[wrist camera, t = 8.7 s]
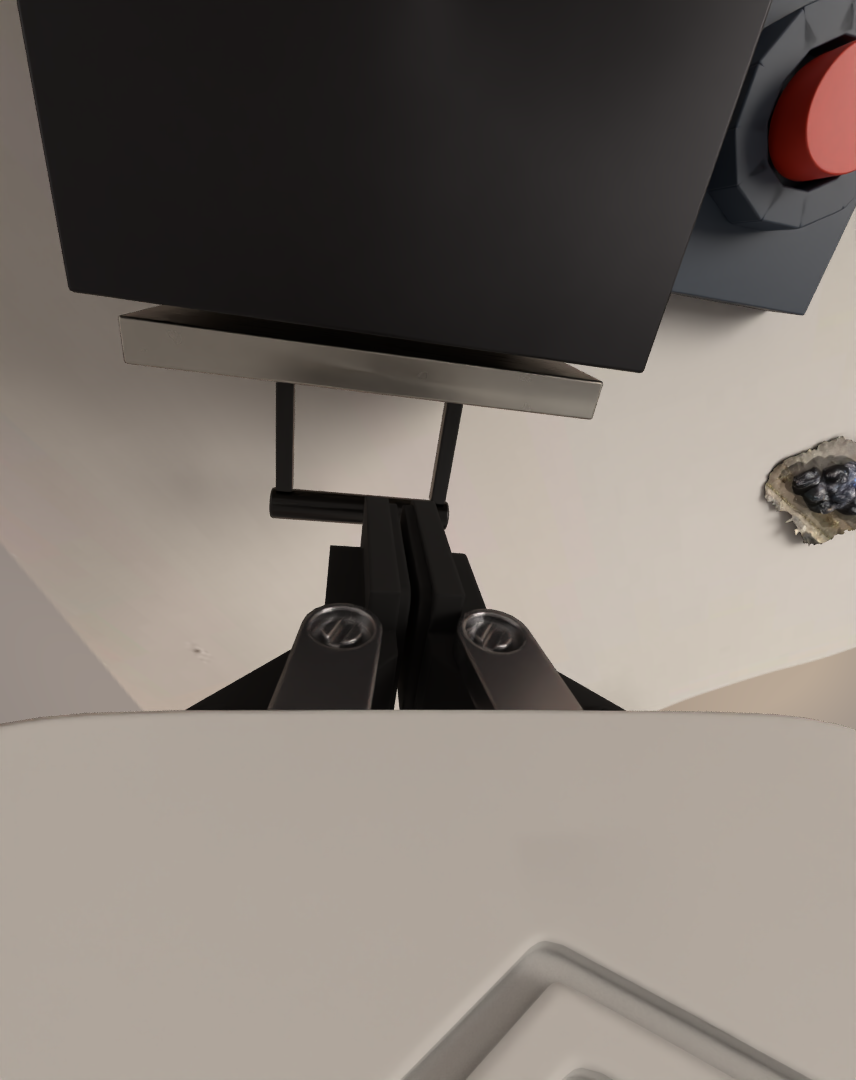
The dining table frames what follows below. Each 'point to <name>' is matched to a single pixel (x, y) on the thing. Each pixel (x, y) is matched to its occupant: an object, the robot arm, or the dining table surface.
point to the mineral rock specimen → (817, 490)
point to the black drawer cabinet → (391, 160)
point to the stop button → (817, 119)
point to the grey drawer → (352, 384)
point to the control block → (770, 181)
